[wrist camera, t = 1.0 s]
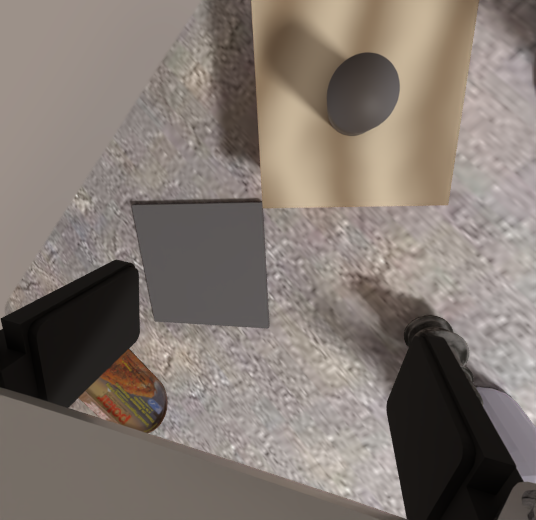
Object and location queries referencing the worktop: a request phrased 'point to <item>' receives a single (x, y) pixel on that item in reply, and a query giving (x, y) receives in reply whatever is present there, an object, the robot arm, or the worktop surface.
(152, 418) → the tin
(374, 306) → the worktop surface
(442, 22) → the lid
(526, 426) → the soap bottle
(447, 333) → the salt shaker
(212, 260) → the mat
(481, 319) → the worktop surface
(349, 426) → the worktop surface
